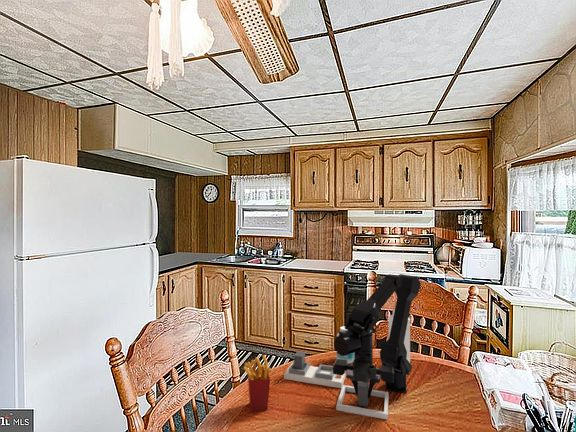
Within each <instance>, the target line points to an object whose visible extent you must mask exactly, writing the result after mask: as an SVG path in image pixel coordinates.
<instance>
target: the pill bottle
mask: <svg viewBox="0 0 576 432" xmlns="http://www.w3.org/2000/svg"><path fill="white" fill-rule="evenodd" d="M339 330H340V331H339V332H341V331H347V329H345V325H343V326H340V327H339ZM339 332H338V333H337V334H336V337H337V336H339ZM336 359H341V360H347V362H348V364H349V365H351V364H353V361H354V353H351V354H348V355H345V356H341V355H339V354H338V353H337V352H336Z"/></svg>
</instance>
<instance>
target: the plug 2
mask: <svg viewBox="0 0 576 432" xmlns="http://www.w3.org/2000/svg"><path fill="white" fill-rule="evenodd" d="M369 383H370V381H369V382H368V383H364V382H361V381H358V397H357V406H360V407H361V406H362V407H368V405H369V401H370V400H369V399H370V398H369V399H368V390H369Z"/></svg>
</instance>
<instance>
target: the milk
mask: <svg viewBox="0 0 576 432" xmlns="http://www.w3.org/2000/svg"><path fill="white" fill-rule="evenodd" d="M394 311H395V309H394V310H392V314H391V315H389V316H388V337H389V336H390V331H391V326H392V321H393V316H394ZM404 345H405V348H406V351H407V358H406V359H407V360H408V361H409V363H410V364H411V319H410V317H409V318H408V323H407V328H406V333H405V339H404Z"/></svg>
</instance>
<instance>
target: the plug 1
mask: <svg viewBox="0 0 576 432" xmlns="http://www.w3.org/2000/svg"><path fill="white" fill-rule="evenodd" d="M293 362H294V369H299V370H304V368H305V362H306V352H305V351H302V350H301V351H300V350H297V351H296V353H295V354H294V355H293Z"/></svg>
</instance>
